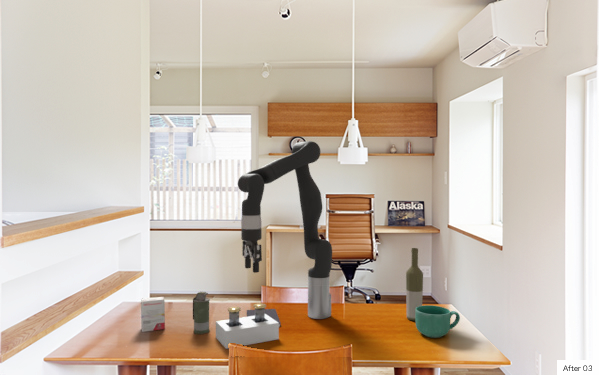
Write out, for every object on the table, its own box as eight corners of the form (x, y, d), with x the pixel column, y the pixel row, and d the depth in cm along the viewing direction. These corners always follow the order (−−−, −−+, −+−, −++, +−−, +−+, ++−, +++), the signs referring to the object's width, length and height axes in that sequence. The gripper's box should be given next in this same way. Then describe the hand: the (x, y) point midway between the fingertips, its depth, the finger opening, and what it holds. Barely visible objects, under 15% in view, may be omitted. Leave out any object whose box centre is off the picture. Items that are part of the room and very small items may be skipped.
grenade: (212, 329, 165) (212, 291, 165) (204, 334, 160) (204, 295, 159) (198, 327, 167) (198, 289, 167) (189, 332, 162) (189, 293, 161)
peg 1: (238, 323, 157) (238, 306, 157) (242, 327, 153) (242, 309, 153) (226, 325, 155) (226, 307, 155) (230, 329, 151) (230, 311, 151)
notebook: (246, 313, 188) (248, 329, 167) (246, 309, 188) (248, 325, 167) (275, 312, 190) (280, 328, 169) (275, 308, 190) (280, 324, 169)
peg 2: (263, 319, 162) (263, 302, 162) (267, 323, 158) (268, 305, 158) (251, 321, 160) (251, 304, 159) (256, 324, 155) (256, 307, 155)
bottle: (425, 321, 177) (426, 249, 176) (408, 322, 176) (409, 249, 176) (419, 316, 184) (419, 247, 183) (403, 316, 183) (403, 247, 183)
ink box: (164, 325, 169) (164, 296, 169) (165, 329, 165) (165, 299, 165) (141, 328, 166) (141, 298, 166) (141, 332, 162) (141, 301, 162)
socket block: (265, 329, 166) (265, 313, 166) (278, 339, 156) (278, 322, 156) (215, 337, 157) (215, 321, 157) (226, 348, 146) (226, 331, 146)
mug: (419, 340, 156) (419, 314, 156) (412, 328, 168) (412, 304, 168) (465, 341, 155) (465, 315, 155) (455, 329, 167) (455, 305, 167)
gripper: (268, 228, 155) (268, 272, 155) (254, 224, 167) (254, 265, 168) (248, 229, 151) (248, 275, 152) (235, 225, 164) (236, 267, 164)
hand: (251, 270), depth 160 cm, fingers open, 8 cm apart
